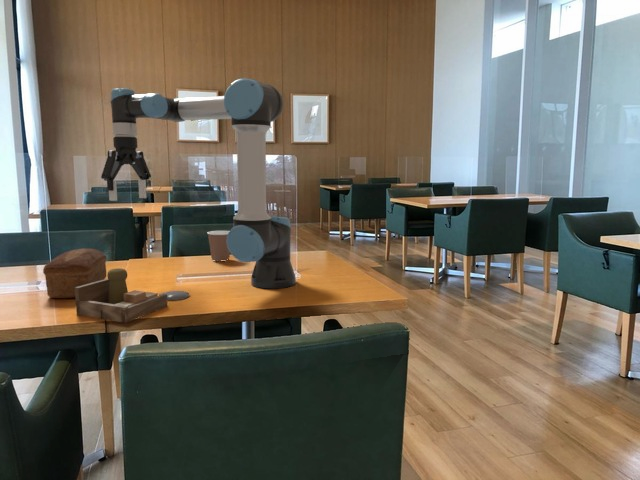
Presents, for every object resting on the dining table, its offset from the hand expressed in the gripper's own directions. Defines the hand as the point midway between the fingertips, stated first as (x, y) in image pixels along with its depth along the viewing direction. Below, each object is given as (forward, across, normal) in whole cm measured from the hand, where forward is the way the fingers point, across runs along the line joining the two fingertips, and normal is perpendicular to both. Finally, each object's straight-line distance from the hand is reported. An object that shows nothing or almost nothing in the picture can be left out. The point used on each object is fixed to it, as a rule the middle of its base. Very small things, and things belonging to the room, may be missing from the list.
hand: (128, 199), depth 167 cm
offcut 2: (+28, +30, +30) cm, 51 cm away
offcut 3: (+28, +25, +30) cm, 48 cm away
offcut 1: (+28, +34, +30) cm, 53 cm away
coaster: (+28, +13, +29) cm, 42 cm away
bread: (+28, +18, -5) cm, 34 cm away
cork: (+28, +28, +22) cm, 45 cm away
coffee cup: (+28, -40, +10) cm, 50 cm away
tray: (+28, +30, +26) cm, 48 cm away
